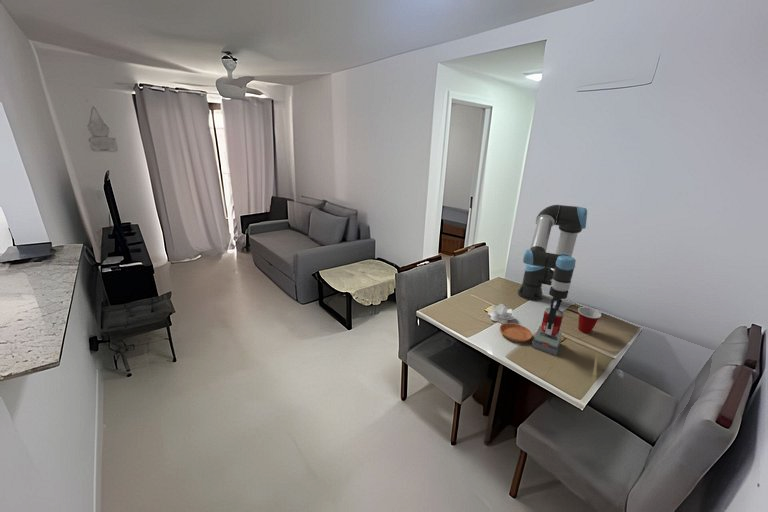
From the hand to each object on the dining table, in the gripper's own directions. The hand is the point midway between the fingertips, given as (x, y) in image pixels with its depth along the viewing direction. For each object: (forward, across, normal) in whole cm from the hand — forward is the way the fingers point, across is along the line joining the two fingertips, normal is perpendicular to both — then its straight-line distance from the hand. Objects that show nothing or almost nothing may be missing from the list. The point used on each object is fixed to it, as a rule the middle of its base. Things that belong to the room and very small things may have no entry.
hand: (549, 330), depth 150 cm
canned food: (0, 0, 0) cm, 0 cm away
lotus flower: (+9, -12, -27) cm, 31 cm away
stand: (+9, 0, 0) cm, 9 cm away
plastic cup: (+9, -29, +14) cm, 33 cm away
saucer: (+9, +1, -15) cm, 17 cm away
